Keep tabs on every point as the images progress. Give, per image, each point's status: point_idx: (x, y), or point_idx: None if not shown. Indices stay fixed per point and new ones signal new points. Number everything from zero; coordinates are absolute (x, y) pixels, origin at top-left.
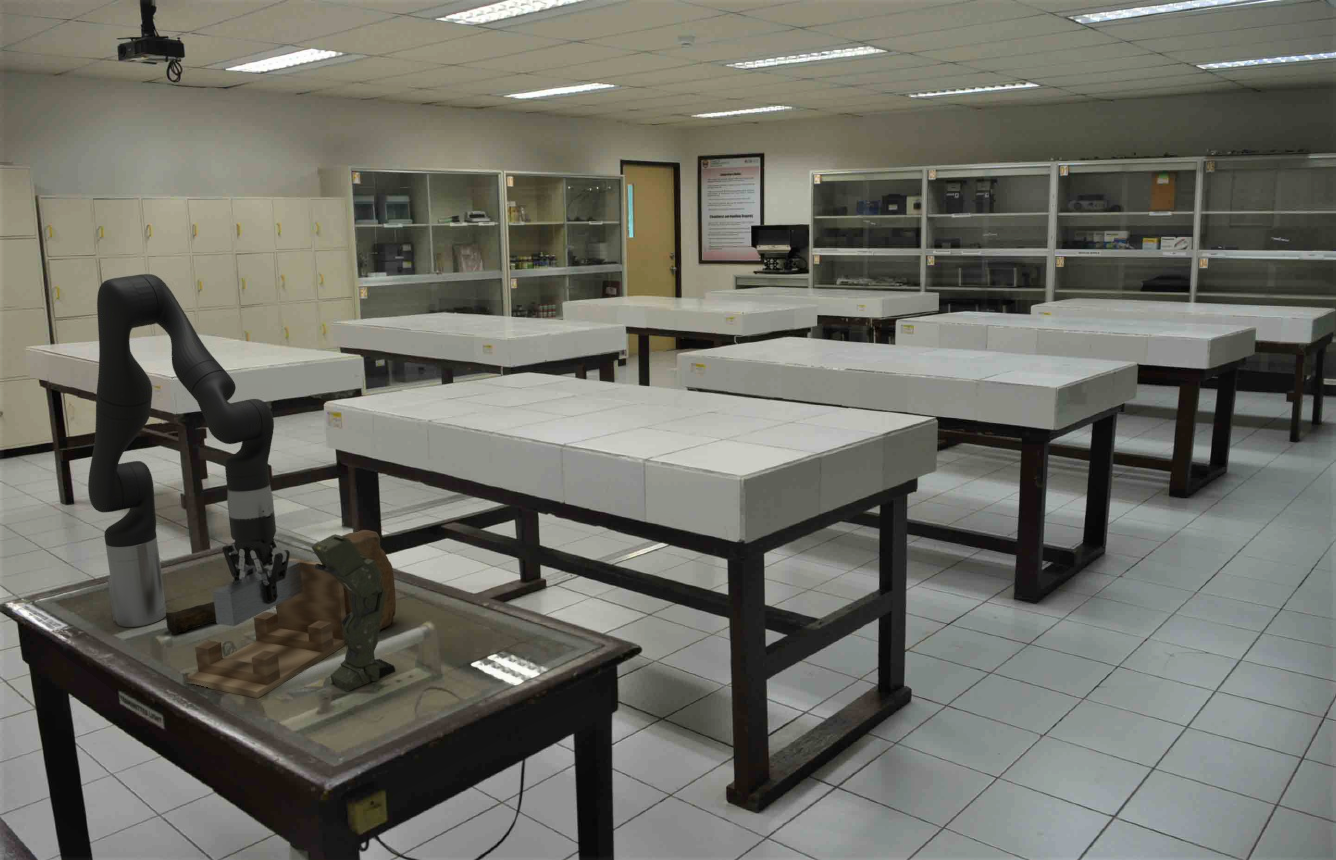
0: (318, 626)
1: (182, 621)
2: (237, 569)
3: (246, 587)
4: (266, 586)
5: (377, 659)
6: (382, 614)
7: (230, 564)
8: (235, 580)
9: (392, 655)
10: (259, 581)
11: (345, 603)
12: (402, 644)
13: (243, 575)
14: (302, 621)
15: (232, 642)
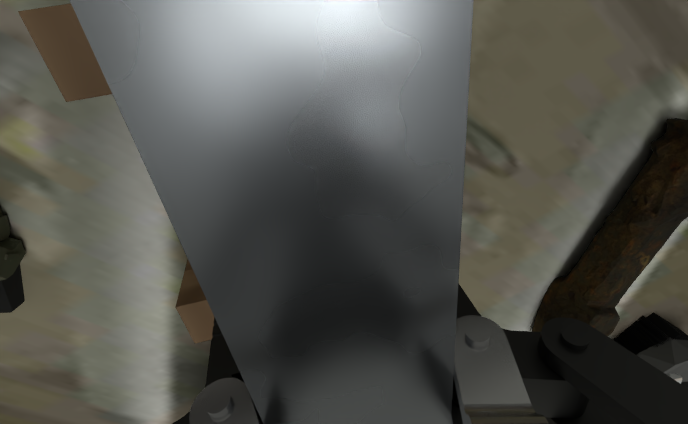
0: (200, 311)
1: (683, 150)
2: (583, 392)
3: (192, 264)
4: (235, 370)
5: (7, 307)
6: None
7: (681, 417)
8: (672, 328)
9: (56, 338)
10: (248, 389)
11: None
12: (105, 373)
13: (473, 369)
14: None
15: (497, 173)
